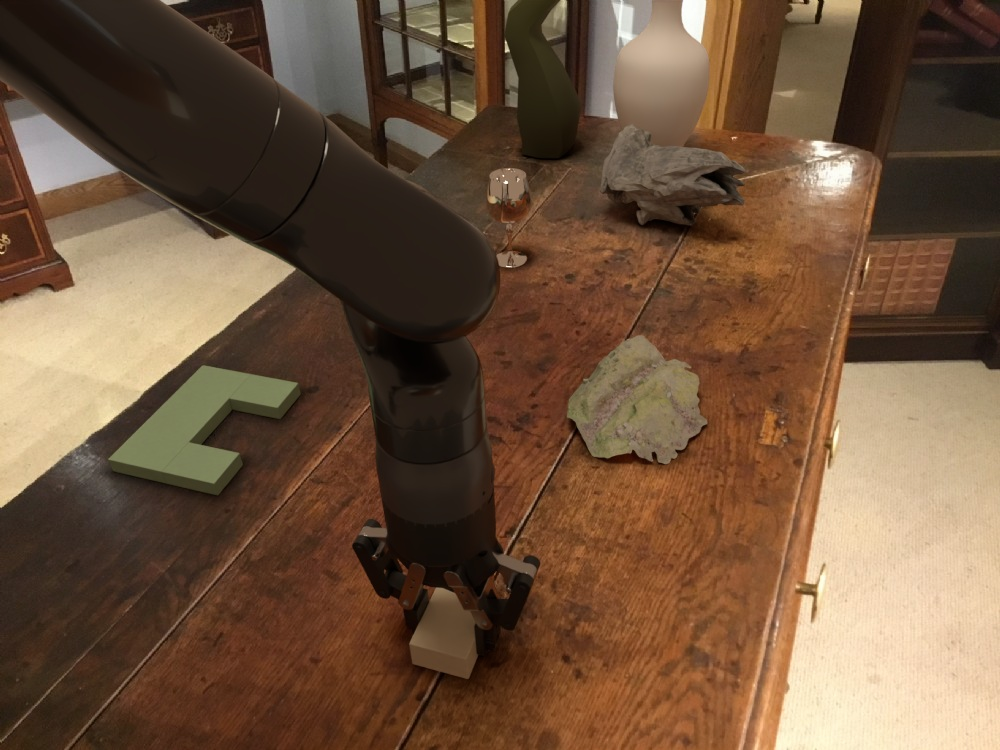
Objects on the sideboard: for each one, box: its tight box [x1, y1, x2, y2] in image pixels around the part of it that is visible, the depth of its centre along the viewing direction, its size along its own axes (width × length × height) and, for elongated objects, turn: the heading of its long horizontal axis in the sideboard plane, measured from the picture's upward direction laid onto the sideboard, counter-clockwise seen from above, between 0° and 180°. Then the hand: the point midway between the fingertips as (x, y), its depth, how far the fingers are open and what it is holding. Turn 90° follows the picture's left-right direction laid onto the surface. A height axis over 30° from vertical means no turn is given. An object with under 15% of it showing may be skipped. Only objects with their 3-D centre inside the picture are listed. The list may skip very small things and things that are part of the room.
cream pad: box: [408, 588, 479, 680], centre depth 66 cm, size 6×5×3 cm
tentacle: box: [503, 0, 583, 159], centre depth 135 cm, size 9×12×30 cm
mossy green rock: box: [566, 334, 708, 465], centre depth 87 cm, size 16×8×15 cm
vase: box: [612, 0, 711, 147], centre depth 129 cm, size 14×14×28 cm
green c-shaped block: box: [107, 365, 302, 496], centre depth 87 cm, size 16×12×2 cm
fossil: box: [599, 125, 746, 227], centre depth 119 cm, size 20×18×15 cm
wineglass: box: [485, 167, 532, 269], centre depth 111 cm, size 6×6×12 cm
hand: (453, 637), depth 66 cm, fingers closed on cream pad, 4 cm apart
